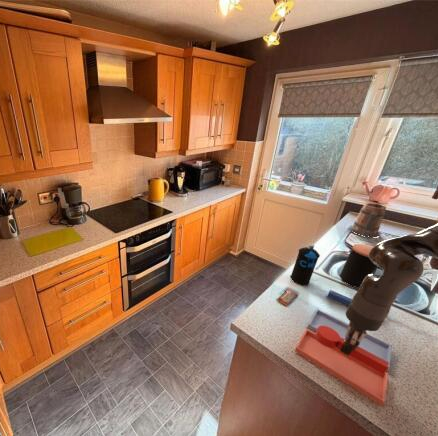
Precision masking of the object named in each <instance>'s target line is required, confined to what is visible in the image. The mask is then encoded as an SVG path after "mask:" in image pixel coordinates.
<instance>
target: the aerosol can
mask: <svg viewBox="0 0 438 436" xmlns="http://www.w3.org/2000/svg"><path fill="white" fill-rule="evenodd" d="M320 257H321V254H320V253H319V251H317V250H316V249H315V245H314V244H312V243H309V244H308V246H306V247H302V248H299V249H298V253H297V256H296V260H295V263H294V265H293V269H292V272H291V274H290V275H289V278H290V277H291V278H292V280H293V281H294V282H293V281H292V280H291V281H292V282H293V283H295V284H296V285H299V284H300V285H299V286H304V285H305V286H309V285H310V281H311V279H312V276H313V273H314V270H315V268H316V265H317V263H318V260H319V258H320ZM308 284H309V285H308Z"/></svg>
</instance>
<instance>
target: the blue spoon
mask: <svg viewBox="0 0 438 436" xmlns="http://www.w3.org/2000/svg"><path fill="white" fill-rule="evenodd" d="M326 298H327V299H330V300H331V301H334V302H336V303H338V304H341V305H342V306H345V307H346V308H348V307H349V305H350V303H351V301H352V299H353V298H351V297H348V296H346V295H343V294H341V293H339V292H337V291H334V290H332V289H330V290H329V291H328V293H327V296H326Z"/></svg>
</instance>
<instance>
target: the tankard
mask: <svg viewBox="0 0 438 436" xmlns="http://www.w3.org/2000/svg"><path fill="white" fill-rule="evenodd" d="M386 209H387V206H385V205H382V204H379V203H373V202H365V203H364V205H363V206H362V207H361V208H360V210H359V213H358V214H357V217H356V219H355V220H354V222H353V225H350V226H349V227H347V231H348V232H350V231H353V232H355V233H357V234H360V235H363V236H365V237H368V236H369V237H377V236H379V235H380V234H379V230H380V228H381V224H382V221H383V220H384V217H385V216H386ZM365 237H364V238H365Z"/></svg>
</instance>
